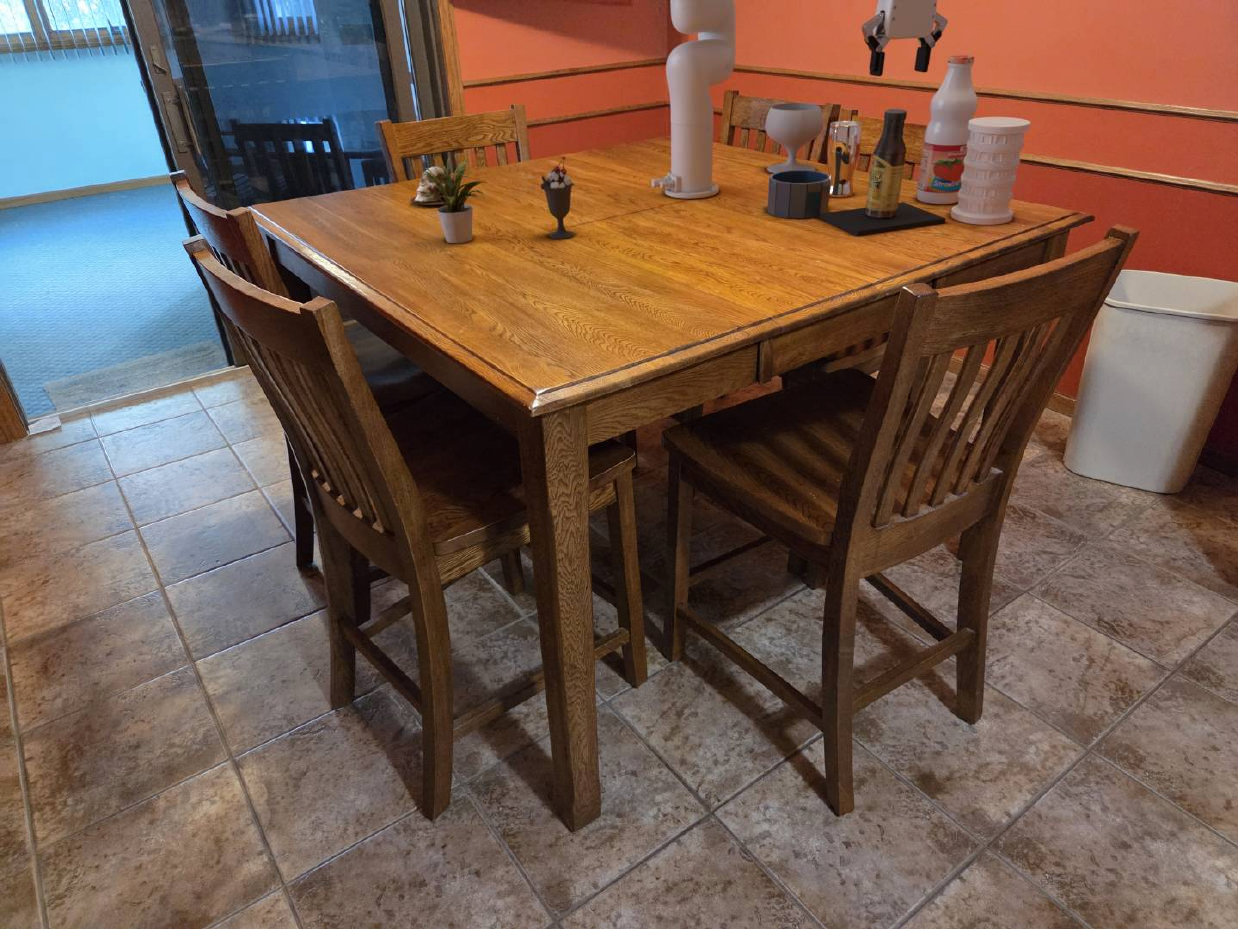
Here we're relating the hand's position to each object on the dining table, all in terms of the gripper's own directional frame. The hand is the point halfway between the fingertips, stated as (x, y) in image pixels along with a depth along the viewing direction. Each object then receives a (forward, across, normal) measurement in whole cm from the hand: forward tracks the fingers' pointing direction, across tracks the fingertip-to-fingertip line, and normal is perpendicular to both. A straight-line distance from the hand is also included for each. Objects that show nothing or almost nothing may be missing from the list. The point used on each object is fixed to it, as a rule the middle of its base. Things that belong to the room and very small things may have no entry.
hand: (898, 73), depth 151 cm
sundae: (+28, +62, -19) cm, 70 cm away
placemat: (+27, 0, 0) cm, 27 cm away
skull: (+28, +82, -60) cm, 105 cm away
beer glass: (+28, -4, -22) cm, 35 cm away
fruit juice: (+27, -20, -8) cm, 35 cm away
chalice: (+28, -6, -48) cm, 56 cm away
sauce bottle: (+26, 0, 0) cm, 26 cm away
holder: (+27, +11, -14) cm, 33 cm away
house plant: (+28, +83, -25) cm, 91 cm away
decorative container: (+27, -19, +7) cm, 34 cm away
